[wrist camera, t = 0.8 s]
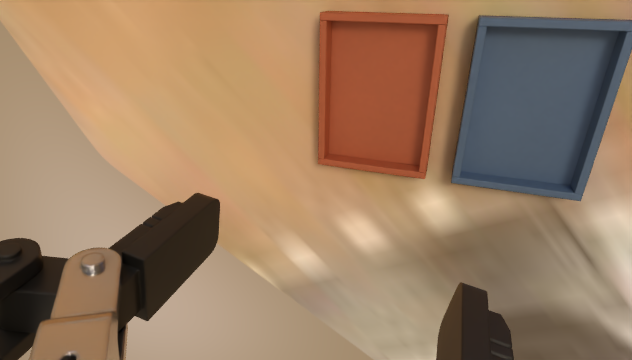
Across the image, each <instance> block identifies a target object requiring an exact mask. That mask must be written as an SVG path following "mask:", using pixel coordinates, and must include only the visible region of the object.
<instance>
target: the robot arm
mask: <svg viewBox="0 0 632 360" xmlns="http://www.w3.org/2000/svg"><path fill="white" fill-rule="evenodd" d="M219 215H220V202H219V200H218V199H215V198H212V197H209V196H206V195H203V194H200V193H195V194H194V195H193V196H191V197H190V198H189V199H188V200H186V201H185V202H184V203H181V202H176V203H174V204H171V205H168V206H165V207H163V208H162V209H160V210H159V211H158V212H156V213H155V214H154V215H153V216H152V217H150V218H148V219H147V220H146V221H145V222H143V224H141V225H139V226H138V227H136V228H135V229H134V230H132V231H131V232H130V233H128V234H127V235H126V236H125V237H123V238H122V239H120V240H119V241H118V242H116V243H115V244H114V245H112V246H111V247H110V248H108V249H107V248H91V249H87V250H83V251H81V252H78V253H77V254H75V255H73V256H72V257H70V258H69V259H67V258H57V257H47V256H42V255H41V250H40V247H39V245H38V243H37V242H35V241H33V240H30V239H25V238H15V239H8V240H3V241H1V242H0V360H18V359H19V358H20V357H21V356H22V355H24V354H25V353H26V352H27V351H28V350H29V349H30V348H31V347H32V346H33V347H32V350H31V353H30V357H29V360H125V358H126V346H127V331H128V326H127V323H128V322H129V321H130V320H131V319H132V318H133V317H134V316H136V317H139V318H141V319H143V320H146V321H149V319H150V318H151V317H152V316H153V315H154V314H155V313H156V312H157V311H158V310H159V309H160V308H161V307H162V306H163V304H164V303H165V302H166V301H167V300H168V299H169V298H170V297H171V296H172V295H173V294H174V293H175V292H176V290H177V289H178V288H179V287H180V286H181V285H182V284H183V283H184V282H185V281H186V280H187V279H188V278H189V277H190V275H191V274H192V273H193V272H194V271H195V270H196V269H197V268H198V267H199V266H200V265H201V264H202V263H203V262H204V260H205V259H206V258H207V257H208V256H209V255H210V254H211V253H212V251H213V250H214V248H215V246H216V243H217V240H218V233H219ZM436 360H514V357H513V350H512V341H511V334H510V330H509V328H508V326H507V324H506V323H505V321H504V319H503V317H502V316H501V314H498V313H495V312H492V311H489V310H488V297H487V292H486V291H485V290H482V289H479V288H476V287H473V286H470V285H467V284H464V283H459V285H458V287H457V289H456V291H455V293H454V295H453V298H452V300H451V302H450V304H449V306H448V309H447V311H446V313H445V315H444V318H443V320H442V323H441V326H440V330H439V335H438V345H437V358H436Z"/></svg>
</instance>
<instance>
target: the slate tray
mask: <svg viewBox="0 0 632 360" xmlns="http://www.w3.org/2000/svg"><path fill="white" fill-rule="evenodd" d="M631 50H632V20H614V19H580V18H546V17H512V16H479V19H478V25H477V31H476V37H475V42H474V48H473V54H472V60H471V66H470V72H469V77H468V83H467V89H466V95H465V101H464V106H463V112H462V118H461V124H460V130H459V136H458V141H457V147H456V153H455V159H454V165H453V171H452V180H451V183H456V184H463V185H470V186H477V187H484V188H491V189H499V190H506V191H513V192H520V193H527V194H534V195H541V196H548V197H555V198H562V199H569V200H576V201H581V199H582V196H583V193H584V190H585V187H586V184H587V181H588V178H589V175H590V172H591V169H592V166H593V163H594V160H595V157H596V154H597V151H598V148H599V145H600V142H601V139H602V136H603V133H604V130H605V128H606V125H607V122H608V119H609V116H610V113H611V110H612V107H613V104H614V101H615V98H616V95H617V92H618V89H619V86H620V83H621V80H622V77H623V74H624V71H625V68H626V65H627V62H628V59H629V56H630V53H631Z"/></svg>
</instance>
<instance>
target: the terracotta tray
mask: <svg viewBox="0 0 632 360" xmlns="http://www.w3.org/2000/svg"><path fill="white" fill-rule="evenodd" d="M448 16H449V15H444V14H410V13H377V12H343V11H325V12H320V20H321V21H320V58H319V143H318V164H322V165H330V166H337V167H344V168H351V169H358V170H365V171H372V172H379V173H386V174H393V175H400V176H407V177H414V178H421V179H425V176H426V171H427V165H428V158H429V151H430V144H431V136H432V129H433V122H434V115H435V108H436V101H437V94H438V87H439V80H440V73H441V66H442V58H443V51H444V44H445V37H446V30H447V23H448Z"/></svg>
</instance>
